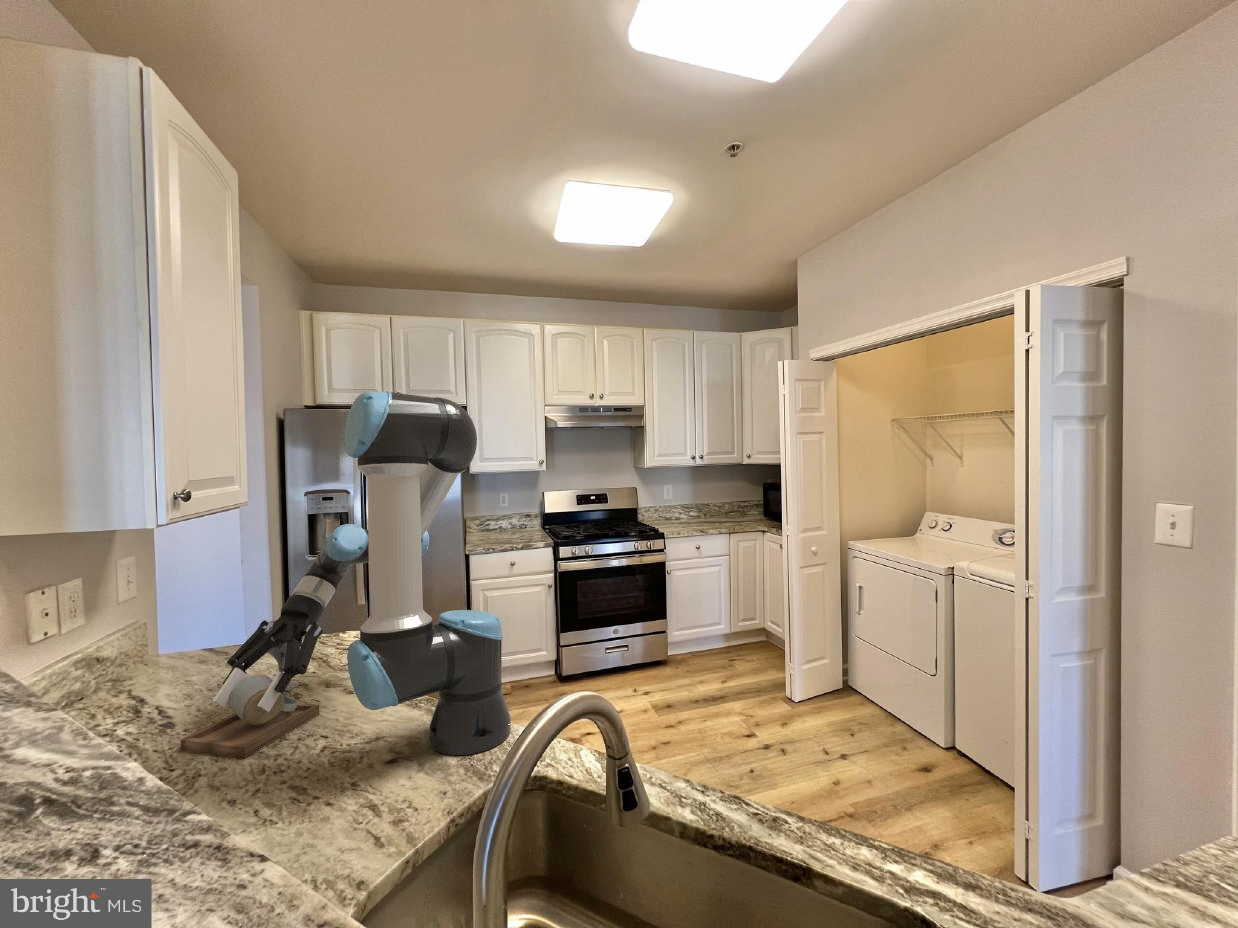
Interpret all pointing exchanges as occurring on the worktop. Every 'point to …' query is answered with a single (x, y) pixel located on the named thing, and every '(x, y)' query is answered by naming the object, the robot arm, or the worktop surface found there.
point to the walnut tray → (246, 733)
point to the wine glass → (281, 659)
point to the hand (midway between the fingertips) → (240, 706)
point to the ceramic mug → (257, 701)
